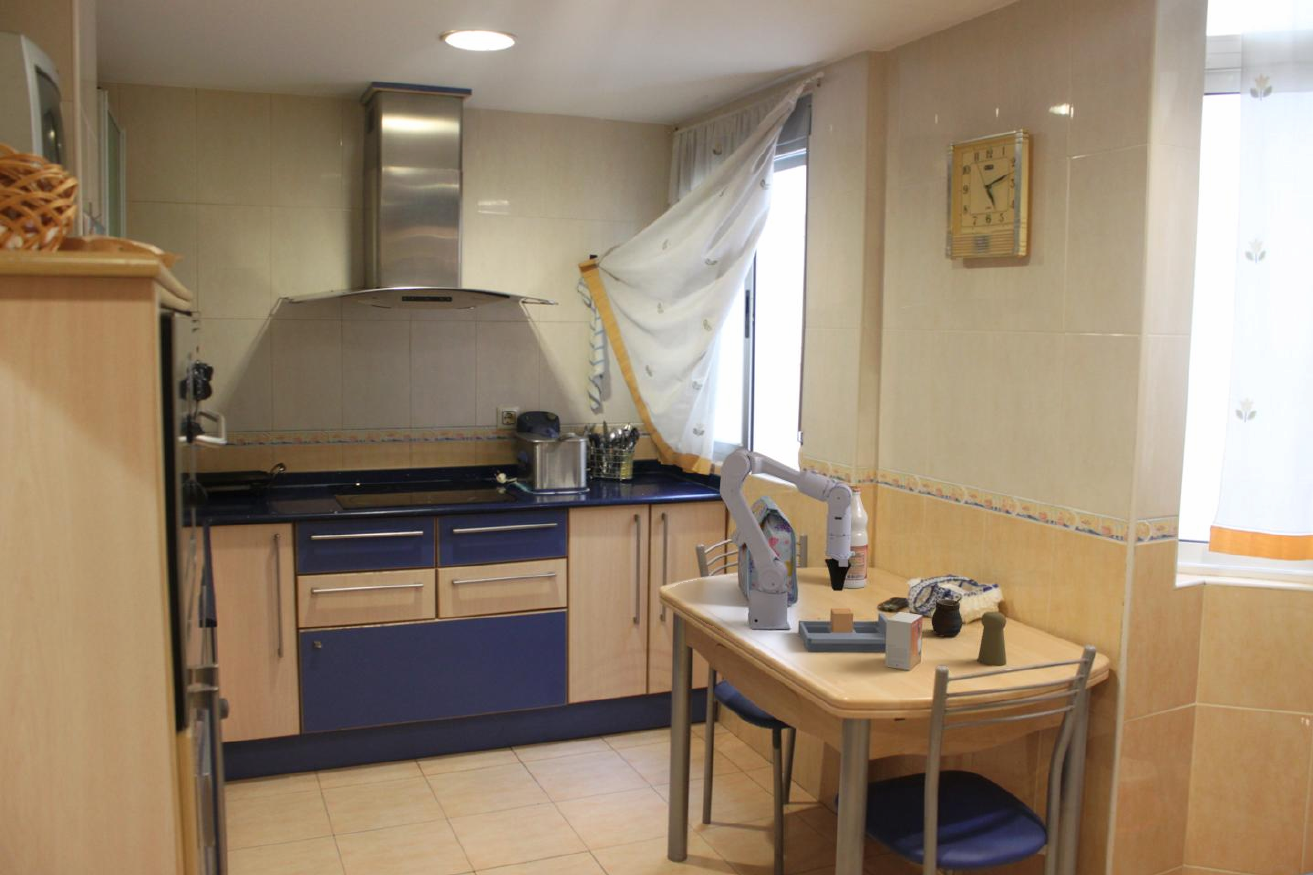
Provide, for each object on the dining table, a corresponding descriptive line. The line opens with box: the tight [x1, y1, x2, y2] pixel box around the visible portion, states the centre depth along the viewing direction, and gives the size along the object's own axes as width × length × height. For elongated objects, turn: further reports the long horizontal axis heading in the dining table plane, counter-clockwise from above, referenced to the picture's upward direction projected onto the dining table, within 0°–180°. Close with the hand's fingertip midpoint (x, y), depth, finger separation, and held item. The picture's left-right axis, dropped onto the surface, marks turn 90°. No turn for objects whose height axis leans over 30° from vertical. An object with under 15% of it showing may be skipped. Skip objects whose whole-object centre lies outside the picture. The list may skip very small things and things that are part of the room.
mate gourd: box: [931, 596, 963, 638], centre depth 259 cm, size 7×8×10 cm
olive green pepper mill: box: [977, 611, 1007, 667], centre depth 238 cm, size 6×6×11 cm
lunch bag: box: [730, 494, 799, 606], centre depth 293 cm, size 22×17×26 cm
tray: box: [797, 612, 888, 653], centre depth 252 cm, size 20×15×5 cm
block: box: [829, 607, 854, 633], centre depth 255 cm, size 4×4×4 cm
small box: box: [884, 611, 924, 671], centre depth 236 cm, size 8×6×10 cm
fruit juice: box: [843, 485, 869, 589], centre depth 307 cm, size 9×9×28 cm
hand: (837, 589), depth 262 cm, fingers closed
